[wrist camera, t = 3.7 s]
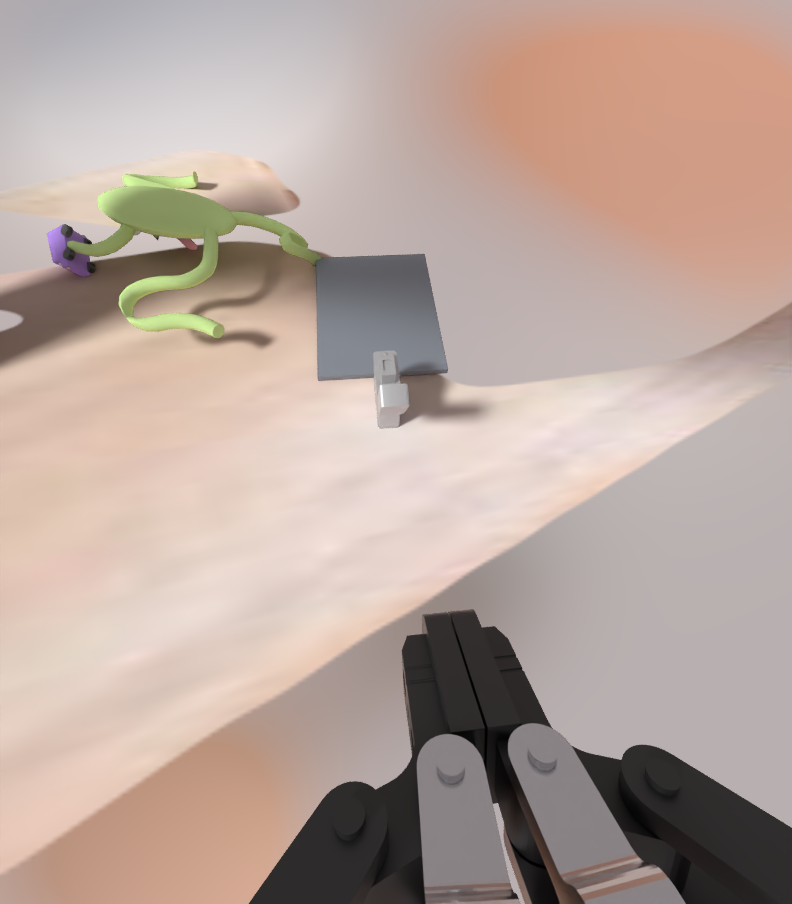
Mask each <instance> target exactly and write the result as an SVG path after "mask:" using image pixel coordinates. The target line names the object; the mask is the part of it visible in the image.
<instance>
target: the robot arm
mask: <svg viewBox="0 0 792 904" xmlns="http://www.w3.org/2000/svg"><path fill="white" fill-rule="evenodd" d="M422 632H423V634H420V635H411V636H407V638H406V641H405V643H404V646H403V649H402V663H403V682H404V695H405V704H406V711H407V719H408V726H409V734H410V742H411V750H412V758H411V760H410V763H409V764H408V766H407V768H406V769H405V770H404V771H403V772H402V774H400V775H399V776H398V777H397V778H396V779H394V780H392V781H391V782H389V783H387V784H385V785H383V786H382V787H380V788H378V789H376V790H375V789H374V788H373V787H371V786H370V785H368V784H365V783H362V782H347V783H344V784H341V785H339V786H337V787H336V788H334V789H333V790H331V791H330V792H329V793H328V794H327V795H326V796H325V797H324V799H323V800H322V801H321V803H320V804H319V805H318V807H317V808H316V810H315V811H314V813H313V814H312V815H311V817H310V818H309V819H308V821H307V822H306V824H305V825H304V827H303V828H302V829H301V831H300V832H299V834H298V835H297V836H296V838H295V839H294V841H293V842H292V843H291V845H290V846H289V848H288V849H287V850H286V852H285V853H284V855H283V856H282V857H281V859H280V860H279V862H278V863H277V865H276V866H275V867H274V869H273V870H272V872H271V873H270V874H269V876H268V878H267V879H266V880H265V881H264V883H263V884H262V886H261V887H260V888H259V890H258V891H257V893H256V894H255V896H254V897H253V899H252V900H251V901H250V903H249V904H520V901H519V899H518V896H517V894H516V893H514V892H513V890H512V888H511V884H510V880H509V876H508V872H507V867H506V863H505V858H504V854H503V849H502V844H501V840H500V835H499V831H498V826H497V821H496V817H495V812H494V808H493V804H494V803H498V804H499V807H500V811H501V814H502V818H503V820H504V843H505V847H506V850H507V854H508V856H509V859H510V862H511V865H512V868H513V870H514V873H515V876H516V879H517V882H518V885H519V888H520V891H521V893H522V897H523V900H524V902H525V904H792V828H791V827H789V826H788V825H786V824H784V823H783V822H781V821H780V820H778V819H776V818H775V817H773V816H772V815H770V814H768V813H767V812H765V811H763V810H762V809H760V808H758V807H757V806H755V805H753V804H752V803H750V802H749V801H747V800H745V799H744V798H742V797H741V796H739V795H737V794H735V793H734V792H732V791H731V790H729V789H727V788H726V787H724V786H723V785H721V784H719V783H718V782H716V781H714V780H713V779H711V778H710V777H708V776H706V775H705V774H703V773H701V772H700V771H698V770H696V769H695V768H693V767H691V766H690V765H688V764H687V763H685V762H683V761H682V760H680V759H678V758H677V757H675V756H674V755H672V754H670V753H668V752H666V751H665V750H662V749H660V748H657V747H654V746H649V745H636V746H633V747H631V748H629V749H628V750H626V752H625V753H624V754H623V757H622V760H618V759H613V758H609V757H604V756H599V755H594V754H590V753H586V752H584V751H581V750H579V749H577V748H574V747H573V746H571V745H570V743H569V742H568V741H567V740H566V739H565V738H564V737H563V736H562V735H561V734H560V733H558V732H557V731H556V730H554V729H553V728H552V727H551V725H550V724H549V722H548V720H547V718H546V716H545V714H544V712H543V710H542V708H541V706H540V704H539V702H538V699H537V697H536V695H535V693H534V691H533V689H532V687H531V685H530V683H529V681H528V679H527V677H526V675H525V673H524V671H523V670H522V667H521V665H520V662H519V660H518V658H516V654H515V652H514V650H513V648H512V646H511V644H510V642H509V640H508V638H507V637H505V636H504V635H503V634H502V633H501V632H500V631H499V630H498V629H497V628H496V627H494V626H493V627H484V628H482V627H481V625H480V622H479V620H478V618H477V615H476V613H475V611H474V610H473V609H471V610H462V611H452V612H448V613H447V612H444V613H434V614H425V615H422Z"/></svg>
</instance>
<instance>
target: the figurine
mask: <svg viewBox="0 0 792 904" xmlns="http://www.w3.org/2000/svg"><path fill="white" fill-rule="evenodd" d="M122 180H123V183H124V184H125V185H126V186H124V187H119V188H115V189H112V190H109V191H106V192H104V193H102V194H101V195H100V196H99V197H98V208H99V209H100V210H101V211H102V212H103V213H105V214H106V215H107V216H108V217H110V218H111V219H113V220H114V221H116V222H118V223H120V224H121V227H120V229H119V230H118V231H117V232H115V233H114V234H113V235H112V236H110V237H109V238H107V239H106V240H104V241H101V242H98V243H96V244H92V242H91V241H90V240H88V239H87V238H86V237H85V236H84V235H80V234H79V233H77V232H75V231H73V229H72V227H70V226H68V225H66V224H64V225H61V226H59V227H58V228H56V229H54V230H52V231H50V232H48V233H47V237H48V241H49V246H50V251H51V255H52V260H53V262H54V263H56V264H58V265H60V266H62V267H63V268H65V269H67V270H69V271H71V272H73V273H75V274H77V275H80V276H85V277H86V276H90V275H91V273H94V271H95V265H94V264H92V263H90V258H89V256H95V257H98V256H105V255H108V254H111V253H114V252H116V251H118V250H119V249H121V248H122V247H123V246H125V245H126V244H127V243H128V242H129V241H130V240H131V239H132V237H133V236H134V235H138V234H139V233H140V232H145V233H148V234H152V235H153V236H154V237H155V238H156V239H157V240H158V239H159V236H165V237H172V238H177V239H178V240H180V241H181V242H182V243H183V244H184V245H185V246H186V247H187V248H188V249H191V250H195V249H197V245H196V244H195V243H194V242H193V241H192V240H191V238H192V239H196V238H204V250H203V258H202V261H201V263H200V265H199V266H198V267H196V268H195V269H193V270H192V271H190V272H188V273H185V274H182V275H175V276H156V277H149V278H145V279H142V280H139V281H136V282H135V283H133V284H131V285H129V286H127V287H126V288H125V289H124V291H123V292H122V293H121V294H120V296H119V306H120V308H121V310H122V312H123V314H124V315H125V317H126V318H127V320H128V321H129V322H130V323H131V324H132V325H133V326H135V327H136V328H138V329H142V330H145V331H158V332H159V331H164V330H168V329H181V328H184V329H193V330H198V331H201V332H203V333H206V334H208V335H211V336H213V337H215V338H220V337H222V335H223V334H224V329H225V328H224V327H223V325H221V324H219V323H217V322H215V321H213V320H211V319H208V318H205V317H202V316H199V315H194V314H185V313H167V314H161V315H157V316H152V317H145V318H135V317H134V315H133V307H134V306H135V304H136V303H137V301H138V300H139V299H141V298H142V297H144V296H146V295H148V294H151V293H155V292H158V291H164V290H177V289H186V288H192V287H194V286H196V285H199V284H201V283H203V282H204V281H206V280H207V279H208V278H209V277H211V276H212V275H213V273H214V271H215V269H216V267H217V260H218V236H221V235H225V234H228V233H230V232H231V231H233V230H234V228H235V227H236V225H246V226H253V227H257V228H260V229H264V230H267V231H269V232H272V233H274V234H277V235H279V236H281V237H280V239H279V240H280V244H281V246H282V248H283V250H284V251H286V252H287V253H289V254H291V255H294V256H298V257H301V258H304V259H306V260H308V261H309V262H310V263H311V264H312V265H315V264H316V260H319V259H322V258H321V257H320V255H319V254H317V253H315V252H314V251H311V250H309V249H307V247H308V244H307V242H306V241H305V240H304V239H303V238H302V237H301V236H300V235H299V234H298V233H296V232H295V231H294V230H292V229H291V228H289V227H287V226H285V225H283V224H281V223H279V222H277V221H275V220H272V219H269V218H267V217H264V216H261V215H257V214H253V213H247V212H232V211H229V210H228V209H226V208H225V207H223V206H222V205H220V204H218V203H217V202H215V201H213V200H211V199H208V198H205V197H202V196H200V195H197V194H194V193H189V192H185V191H180V190H176V189H174V188H184V189H187V188H194V187H196V186H197V183H198V177H197V174H196V172H195V171H194V172H193V175H191V176H186V177H163V176H144V175H137V174H126V175H123V178H122Z"/></svg>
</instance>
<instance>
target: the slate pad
mask: <svg viewBox="0 0 792 904" xmlns="http://www.w3.org/2000/svg"><path fill="white" fill-rule="evenodd" d="M316 284H317V363H318V381H322V380H338V379H355V378H372V377H374V364H373V353H374V352H377V351H393V350H394V351H395V352H396V353H397V361H398V368H399V375H400V376H405V375H422V374H439V373H447V371H448V367H447V362H446V357H445V352H444V348H443V342H442V337H441V333H440V328H439V323H438V318H437V313H436V308H435V303H434V298H433V293H432V288H431V284H430V278H429V274H428V269H427V264H426V259H425V254H414V255H386V256H359V257H332V258H322V259H319V260H316Z"/></svg>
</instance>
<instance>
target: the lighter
mask: <svg viewBox="0 0 792 904" xmlns="http://www.w3.org/2000/svg"><path fill="white" fill-rule="evenodd" d="M373 364H374V391H375V401H376V411H377V421H378V427H379V428H394V427H398V426H399V425H400V414H404V413H405V411H406V410H407V409H408V407H409V406H410V403H409V391H408V384H406V383H404V384H401V383H400V375H399V368H398V361H397V353H396V352H395V351H394V350H393V351H377V352H374V353H373Z"/></svg>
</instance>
